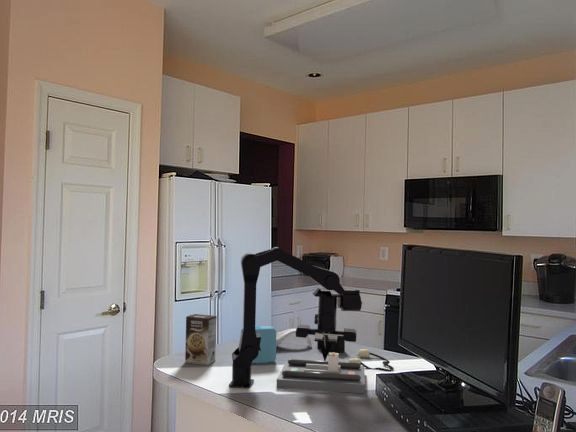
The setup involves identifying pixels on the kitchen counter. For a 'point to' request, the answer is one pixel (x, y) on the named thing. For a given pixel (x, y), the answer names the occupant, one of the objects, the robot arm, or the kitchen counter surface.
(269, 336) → the data package
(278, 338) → the spoon rest
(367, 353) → the cable
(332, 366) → the knob
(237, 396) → the kitchen counter surface
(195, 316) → the coffee box
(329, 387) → the panel
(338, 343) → the digital camera
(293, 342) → the kitchen counter surface
